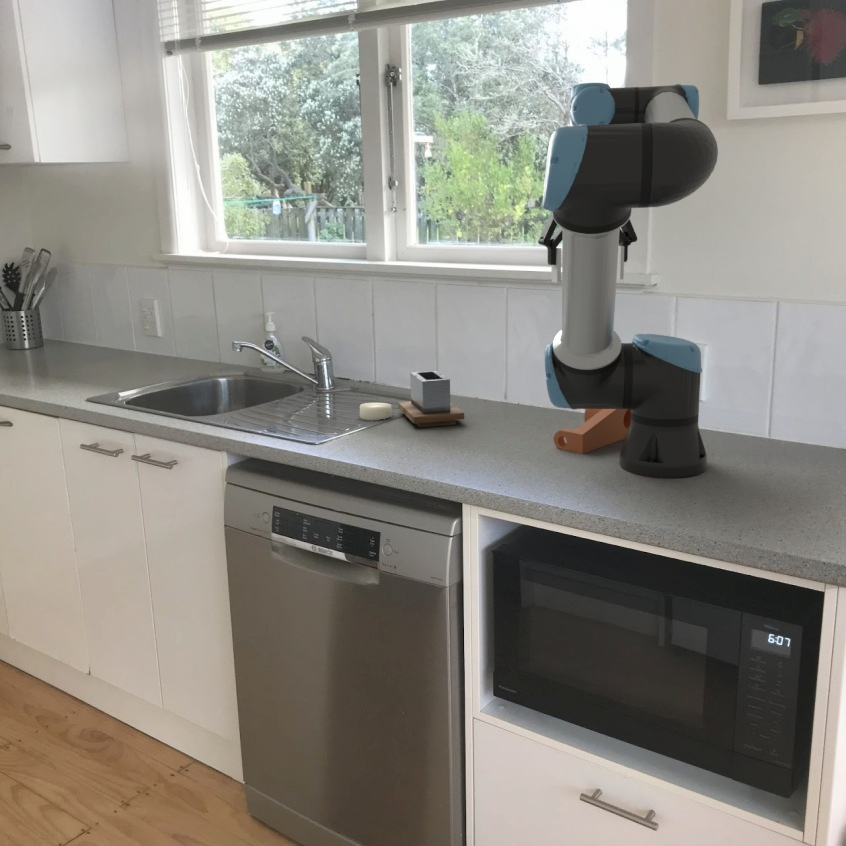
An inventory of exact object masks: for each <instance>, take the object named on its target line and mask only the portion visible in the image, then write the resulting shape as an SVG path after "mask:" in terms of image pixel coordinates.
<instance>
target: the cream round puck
mask: <svg viewBox="0 0 846 846" xmlns="http://www.w3.org/2000/svg"><path fill="white" fill-rule="evenodd" d="M389 417H390V418H392V417H393V415H392V404H390V403H387V402H365V403H361V404H360V405H359V418H360V419H362V420H365V421H366V420H367V421H381V420H380V419H384V420H387V419H386V418H388V419H390V418H389Z"/></svg>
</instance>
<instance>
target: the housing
mask: <svg viewBox="0 0 846 846" xmlns="http://www.w3.org/2000/svg"><path fill="white" fill-rule="evenodd" d="M409 378H410V380H409V381H410V401H411V404H413V405H414V406H415V407H416V408H417V409H418V410H419V411H420V412H421V413H423V414H430V413H442V412H451V411H450V402H451V379H450V378H448V376H445V375H444V374H443V373H441V372H440V371H438V370H424V371H410V372H409Z"/></svg>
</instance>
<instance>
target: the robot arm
mask: <svg viewBox="0 0 846 846" xmlns="http://www.w3.org/2000/svg"><path fill="white" fill-rule="evenodd" d="M699 93H700V92H699V89H698V88H697V86H696V85H692V84H690V85H689V84H680V83H679V84H678V83H677V84H673V85H671V84H670V85H657V86H656V85H655V86H635V87H634V86H631V87H611V86H610V85H609V84H608V83H604V82H583V83H579V84H576V85H573V87H572V88H571V90H570V99H569V107H570V108H569V109H570V110H569V111H570V112H569V115H570V116H569V117H570V119H569V120H570V123H569V124H570V126H561V127H558V128H556V129H555V130H554V131H553V132H552V133H551V136H550V138H549V144H548V149H547V155H546V161H545V163H546V164H545V175H544V181H543V192H542V193H543V194H542V207H543V209H544V210H546V211H549V212H550V214H549V216H548V218H547V221H546V223H545V224H544V227H543V230H542V231H541V233H540V236H539V238H538V240H537V243H538V245H541V246H544V247H546V248H547V264H548V265H549V266H551V275H550V276H551V278H550V279H551V280H550V281H551V282H552V283H561V287H562V288H561V295H562V296H561V308H562V309H561V329H560V330H559V331H558V333H556V335H555V336H554V339H553V341H552V342H551V343H548V344H547V345H545V348H544V371H545V381H546V390H547V394H548V398H549V401H550V403H551V404H552V405H553V406H554V407H556V408H558V409H559V408H560V409H570V410H585V409H631V422H630V426H629V429H628V432H627V434H626V437H625V439H623V441H622V442H623V443H622V445H621V448H620V451H619V463H618V464H619V466H620V467H621V469H623V471H627V472H629V473H632V474H636V475H639V476H645V477H652V478H663V479H667V478H669V479H677V478H678V479H679V478H686V477H687V478H688V477H693V476H696V475H697V476H698V475H700V474H702V473H704V472H705V471H706V470H707V464H708V461H707V460H708V456H707V452H706V448H705V445H704V442H703V438H702V434H701V431H700V427H699V418H700V417H699V414H700V413H699V412H700V391H701V373H703V369H702V354H701V353H702V352H701V349H700V347H699V345H697V344H696V343H695V342H693V341H690V340H689V339H688V340H687V339H685V338H681V337H676V336H670V335H663V334H656V333H638V334H635V335H634V336H633V338H632V339H631V342H627V343H625V342H624V343H623V342H622V340H621V338H620V336H619V334H618V333H617V332H616V331H615V330H614V325H615V312H616V311H615V309H616V307H615V306H616V295H617V294H616V292H617V291H616V290H617V280H624V279H625V278H624V277H625V276H624V275H625V274H624V272H625V271H624V270H625V268H624V267H625V263H626V262H628V258H629V257H628V255H629V253H628V251H629V246H630V245H632V243H636V242H637V241H638V236H637V233H636V231H635V229H634V227H633V224H632V221H631V220H630V218H631V215H632V209H641V208H643V209H646V208H647V209H648V208H658V207H659V208H660V207H663V206H668V205H671V204H674V203H677V202H679V201H682V200H683V199H686V198H687V197H689V196H691V195H692V194H693V193H695V192H696V191H698V189H700V188H701V187H702V186H703V185H704V184H705V183H706V182H707V181H708V180H709V178H710V177H711V175H712V173H713V172H714V171H715V169H716V168H715V167H716V165H717V162H718V155H719V149H718V142H717V140H716V137H715V134H714V133H713V132H712V131H711V129H710V127H709V126H708V125H707V124H706V123H704V122H703V121H701V120H699V110H700V94H699ZM557 226H558V228H557ZM555 230H556V231H555ZM561 242H562V243H561ZM560 244H561V245H562V248H561V247H558V246H559V245H560Z"/></svg>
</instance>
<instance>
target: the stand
mask: <svg viewBox="0 0 846 846" xmlns="http://www.w3.org/2000/svg"><path fill="white" fill-rule="evenodd" d="M397 409H398V410H400V412H401V413H403V415H404V416H406V417H407V419H408V420H410V421H411V423H413V424H415V425H417V426H418V427H419V428H422V427H423V428H424V427H425V428H426V427H435V426H437V427H439V426H449V425H457V424H456V422H457V421H458V420H465V412H464V411H462V410H461V409H460V408H459V407H457V406H456V405H455V404H453V403H452V402H451V401H450V411H451V412H442V413H430V414H423V413H421V412H420V411H419V410H418V409H417V408H416V407H415V406H414V405H413V404H411V400H408V401H398V402H397Z"/></svg>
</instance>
